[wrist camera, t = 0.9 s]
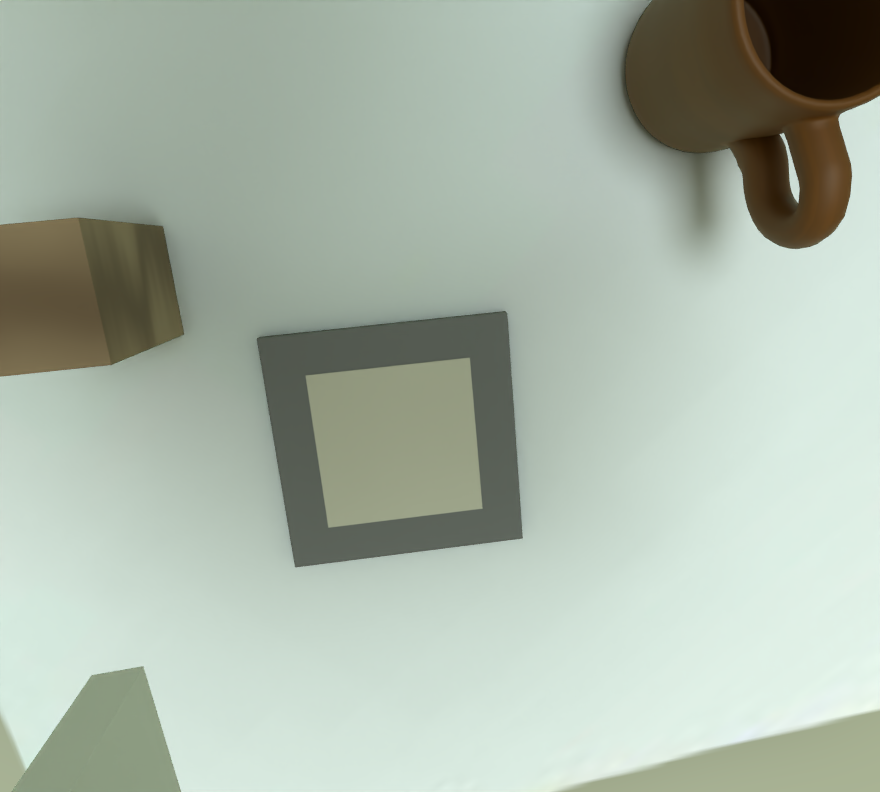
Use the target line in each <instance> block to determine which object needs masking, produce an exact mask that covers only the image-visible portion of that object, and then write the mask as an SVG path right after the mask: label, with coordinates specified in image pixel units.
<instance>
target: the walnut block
mask: <svg viewBox="0 0 880 792" xmlns="http://www.w3.org/2000/svg"><path fill="white" fill-rule="evenodd" d="M181 335H184V332H183V326H182V321H181V316H180V311H179V306H178V301H177V296H176V291H175V286H174V280H173V275H172V270H171V265H170V260H169V255H168V250H167V245H166V240H165V234H164V229H163V226H155V225H145V224H135V223H125V222H116V221H106V220H96V219H86V218H69V219H58V220H47V221H36V222H25V223H15V224H4V225H0V377H1V376H10V375H20V374H29V373H39V372H48V371H58V370H67V369H76V368H86V367H95V366H105V365H112V364H114V363H117V362H119V361H122V360H124V359H126V358H129V357H131V356H134V355H136V354H138V353H141V352H143V351H146V350H148V349H150V348H153V347H155V346H157V345H160V344H162V343H165V342H167V341H169V340H172V339H174V338H177V337H179V336H181Z"/></svg>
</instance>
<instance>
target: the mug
mask: <svg viewBox="0 0 880 792" xmlns="http://www.w3.org/2000/svg"><path fill="white" fill-rule="evenodd" d="M625 78H626V86H627V92H628V96H629V100H630V103H631V105H632V108H633V110H634V112H635V114H636V116H637V118H638V119H639V121H640V122H641V124H642V125H643V126H644V128H645V129H646V130H647V131H648V132H649V133H650V134H651V135H652V136H653V137H655V138H656V139H657V140H659V141H660V142H662V143H663V144H665V145H667V146H669V147H672V148H674V149H677V150H681V151H686V152H693V153H706V152H715V151H720V150H724V149H728V148H730V149H731V151H732V152H733V154H734V156H735V158H736V160H737V163H738V166H739V168H740V170H741V172H742V176H743V187H744V194H745V200H746V204H747V208H748V210H749V213H750V215H751V218H752V220H753V222H754V224H755V225H756V227H757V229H758V230H759V231H760V232H761V233H762V234H763V236H764V237H765V238H767V239H769V240H770V241H772V242H773V243H775V244H777V245H779V246H782V247H786V248H790V249H800V248H806V247H810V246H813V245H816V244H818V243H819V242H821V241H822V240H824V239H825V238H826V237H828V236H829V235H830V234H832V233H833V232H834V231H835V230H836V228H837V227H838V225H839V224H840V222H841V221H842V219H843V218H844V216H845V213H846V209H847V205H848V202H849V198H850V191H851V180H852V171H851V163H850V160H849V156H848V153H847V150H846V146H845V143H844V139H843V136H842V133H841V130H840V126H839V121H838V118H839V116H840V114H841V113H843V112H845V111H847V110H850V109H852V108H855V107H857V106H860V105H862V104H865V103H867V102H869V101H871V100H873V99H875V98H876V97H878V96H880V0H652V2H651V3H650V4H649V5H648V7H647V8H646V9H645V11H644V13H643V14H642V16H641V17H640V19H639V21H638V23H637V25H636V27H635V29H634V32H633V34H632V37H631V40H630V43H629V46H628V51H627V56H626V66H625ZM782 133H784V134H785V137H786V139H787V142H788V145H789V149H790V153H791V156H792V160H793V163H794V167H795V170H796V174H797V177H798V181H799V187H800V193H799V203H797V202H796V200H795V199H794V197H793V194H792V192H791V188H790V182H789V164H788V156H787V151H786V147H785V144H784V142H783V139H782V138H781V136H780V135H779V134H782Z"/></svg>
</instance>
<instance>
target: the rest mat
mask: <svg viewBox="0 0 880 792" xmlns="http://www.w3.org/2000/svg"><path fill="white" fill-rule="evenodd" d="M257 342H258V348H259V354H260V360H261V366H262V372H263V378H264V384H265V390H266V396H267V402H268V408H269V414H270V420H271V426H272V432H273V438H274V444H275V450H276V456H277V462H278V468H279V474H280V480H281V485H282V491H283V497H284V503H285V509H286V515H287V521H288V527H289V533H290V539H291V545H292V551H293V557H294V563H295V567H302V566H309V565H317V564H325V563H333V562H341V561H349V560H357V559H364V558H372V557H380V556H388V555H396V554H404V553H412V552H419V551H427V550H435V549H443V548H451V547H459V546H467V545H474V544H482V543H490V542H498V541H506V540H514V539H522V538H523V537H522V522H521V508H520V493H519V479H518V464H517V450H516V435H515V421H514V406H513V392H512V377H511V362H510V348H509V333H508V319H507V312H505V311H503V312H494V313H484V314H475V315H465V316H456V317H446V318H437V319H427V320H418V321H408V322H399V323H389V324H380V325H370V326H360V327H351V328H341V329H332V330H322V331H313V332H303V333H294V334H284V335H275V336H265V337H259V338H257Z"/></svg>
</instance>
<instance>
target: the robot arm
mask: <svg viewBox="0 0 880 792" xmlns="http://www.w3.org/2000/svg"><path fill="white" fill-rule="evenodd" d="M12 792H181V790H180V787H179V784H178V780H177V777H176V774H175V770H174V767H173V764H172V760H171V757H170V754H169V750H168V747H167V744H166V741H165V737H164V734H163V731H162V727H161V724H160V721H159V717H158V714H157V711H156V707H155V704H154V701H153V697H152V694H151V691H150V688H149V684H148V681H147V678H146V674H145V671H144V668H143V667H137V668H131V669H125V670H120V671H114V672H108V673H102V674H97V675H92V676H91V677H90V679H89V680H88V682H87V683H86V685H85V686H84V687H83V689H82V690H81V692H80V693H79V695H78V696H77V698H76V699H75V700H74V702H73V703H72V705H71V706H70V708H69V709H68V711H67V712H66V714H65V715H64V716H63V718H62V719H61V721H60V722H59V724H58V725H57V727H56V728H55V729H54V731H53V732H52V734H51V735H50V737H49V738H48V740H47V741H46V743H45V744H44V745H43V747H42V748H41V750H40V751H39V753H38V754H37V756H36V757H35V759H34V760H33V761H32V763H31V764H30V766H29V767H28V769H27V770H26V772H25V773H24V774H23V776H22V777H21V779H20V780H19V782H18V783H17V785H16V786H15V788H14V789H13V791H12Z"/></svg>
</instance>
